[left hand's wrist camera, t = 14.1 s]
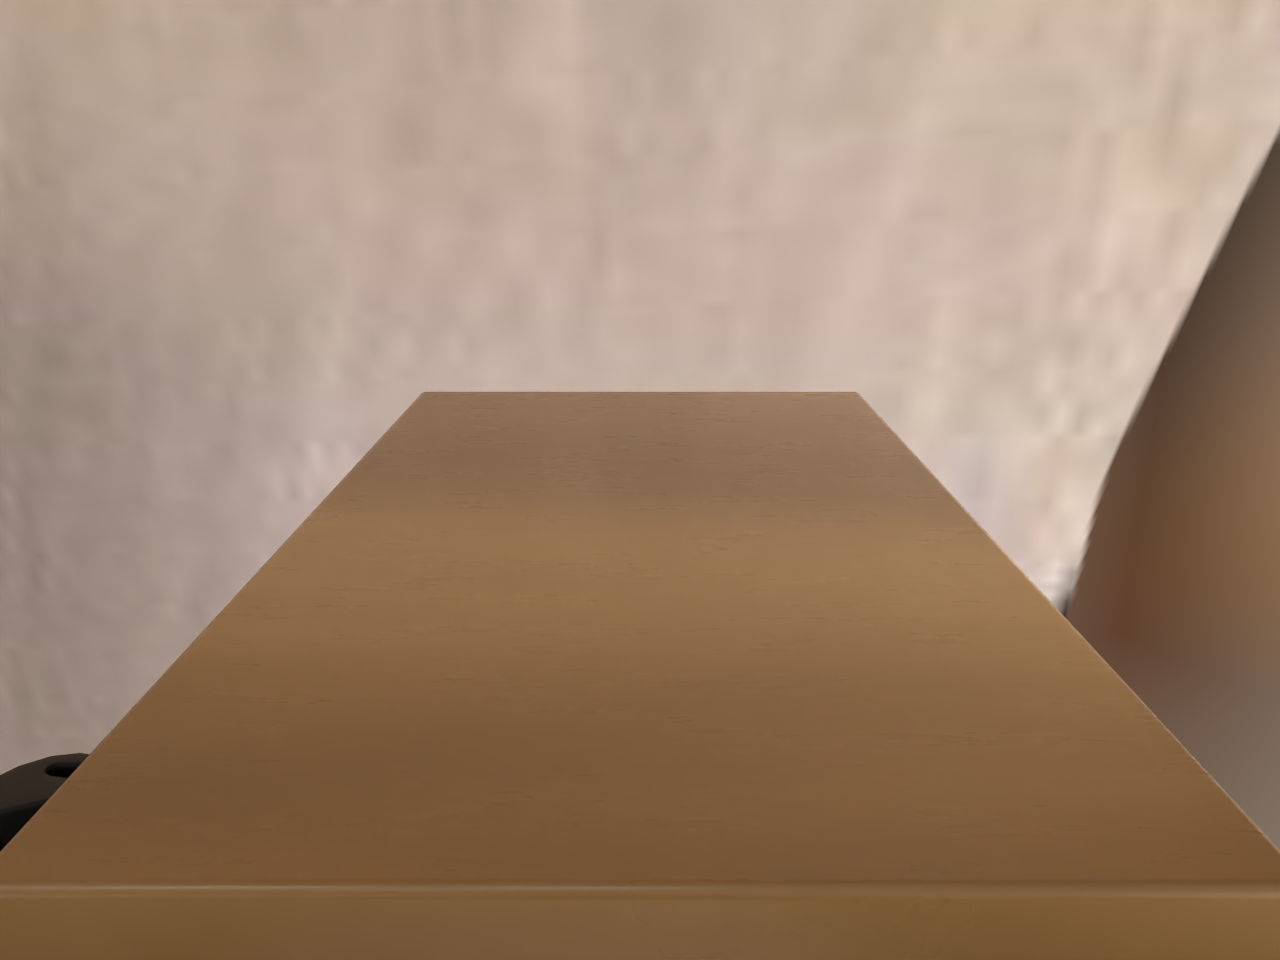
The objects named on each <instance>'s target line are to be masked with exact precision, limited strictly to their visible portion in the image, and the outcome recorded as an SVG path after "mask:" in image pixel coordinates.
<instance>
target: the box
mask: <svg viewBox="0 0 1280 960" xmlns="http://www.w3.org/2000/svg"><path fill="white" fill-rule="evenodd" d="M0 960H1280V850H1279V849H1278V848H1277V847H1276V846H1275V845H1274V844H1273V843H1272V842H1271V841H1270V839H1269V838H1268V837H1267V836H1266V835H1265V834H1264V833H1263V832H1262V831H1261V830H1260V829H1259V827H1258V826H1257V825H1256V824H1255V823H1254V822H1253V821H1252V820H1251V819H1250V818H1249V817H1248V816H1247V815H1246V813H1245V812H1244V811H1243V810H1242V809H1241V808H1240V807H1239V806H1238V805H1237V804H1236V803H1235V801H1234V800H1233V799H1232V798H1231V797H1230V796H1229V795H1228V794H1227V793H1226V792H1225V791H1224V790H1223V788H1222V787H1221V786H1220V785H1219V784H1218V783H1217V782H1216V781H1215V780H1214V779H1213V778H1212V777H1211V775H1210V774H1209V773H1208V772H1207V771H1206V770H1205V769H1204V768H1203V767H1202V766H1201V765H1200V763H1199V762H1198V761H1197V760H1196V759H1195V758H1194V757H1193V756H1192V755H1191V754H1190V753H1189V752H1188V750H1187V749H1186V748H1185V747H1184V746H1183V745H1182V744H1181V743H1180V742H1179V741H1178V740H1177V739H1176V737H1175V736H1174V735H1173V734H1172V733H1171V732H1170V731H1169V730H1168V729H1167V728H1166V727H1165V726H1164V724H1163V723H1162V722H1161V721H1160V720H1159V719H1158V718H1157V717H1156V716H1155V715H1154V714H1153V713H1152V711H1151V710H1150V709H1149V708H1148V707H1147V706H1146V705H1145V704H1144V703H1143V702H1142V701H1141V699H1140V698H1139V697H1138V696H1137V695H1136V694H1135V693H1134V692H1133V691H1132V690H1131V689H1130V688H1129V687H1128V685H1127V684H1126V683H1125V682H1124V681H1123V680H1122V679H1121V678H1120V677H1119V676H1118V675H1117V673H1116V672H1115V671H1114V670H1113V669H1112V668H1111V667H1110V666H1109V665H1108V664H1107V663H1106V662H1105V660H1104V659H1103V658H1102V657H1101V656H1100V655H1099V654H1098V653H1097V652H1096V651H1095V650H1094V648H1093V647H1092V646H1091V645H1090V644H1089V643H1088V642H1087V641H1086V640H1085V639H1084V638H1083V637H1082V635H1081V634H1080V633H1079V632H1078V631H1077V630H1076V629H1075V628H1074V627H1073V626H1072V625H1071V624H1070V622H1069V621H1068V620H1067V619H1066V618H1065V617H1064V616H1063V615H1062V614H1061V613H1060V612H1059V611H1058V609H1057V608H1056V607H1055V606H1054V605H1053V604H1052V603H1051V602H1050V601H1049V600H1048V599H1047V598H1046V596H1045V595H1044V594H1043V593H1042V592H1041V591H1040V590H1039V589H1038V588H1037V587H1036V586H1035V584H1034V583H1033V582H1032V581H1031V580H1030V579H1029V578H1028V577H1027V576H1026V575H1025V574H1024V573H1023V571H1022V570H1021V569H1020V568H1019V567H1018V566H1017V565H1016V564H1015V563H1014V562H1013V561H1012V560H1011V558H1010V557H1009V556H1008V555H1007V554H1006V553H1005V552H1004V551H1003V550H1002V549H1001V548H1000V547H999V545H998V544H997V543H996V542H995V541H994V540H993V539H992V538H991V537H990V536H989V535H988V534H987V532H986V531H985V530H984V529H983V528H982V527H981V526H980V525H979V524H978V523H977V522H976V520H975V519H974V518H973V517H972V516H971V515H970V514H969V513H968V512H967V511H966V510H965V509H964V507H963V506H962V505H961V504H960V503H959V502H958V501H957V500H956V499H955V498H954V497H953V496H952V494H951V493H950V492H949V491H948V490H947V489H946V488H945V487H944V486H943V485H942V484H941V483H940V481H939V480H938V479H937V478H936V477H935V476H934V475H933V474H932V473H931V472H930V471H929V469H928V468H927V467H926V466H925V465H924V464H923V463H922V462H921V461H920V460H919V459H918V458H917V456H916V455H915V454H914V453H913V452H912V451H911V450H910V449H909V448H908V447H907V446H906V445H905V443H904V442H903V441H902V440H901V439H900V438H899V437H898V436H897V435H896V434H895V433H894V432H893V430H892V429H891V428H890V427H889V426H888V425H887V424H886V423H885V422H884V421H883V420H882V419H881V417H880V416H879V415H878V414H877V413H876V412H875V411H874V410H873V409H872V408H871V407H870V405H869V404H868V403H867V402H866V401H865V400H864V399H863V398H862V397H861V396H860V395H859V394H858V393H856V392H424V393H422V394H421V395H420V396H419V397H418V398H417V399H416V400H415V401H414V403H413V404H412V405H411V406H410V407H409V408H408V409H407V410H406V411H405V412H404V413H403V414H402V416H401V417H400V418H399V419H398V420H397V421H396V422H395V423H394V424H393V425H392V426H391V428H390V429H389V430H388V431H387V432H386V433H385V434H384V435H383V436H382V437H381V438H380V439H379V441H378V442H377V443H376V444H375V445H374V446H373V447H372V448H371V449H370V450H369V451H368V453H367V454H366V455H365V456H364V457H363V458H362V459H361V460H360V461H359V462H358V463H357V464H356V466H355V467H354V468H353V469H352V470H351V471H350V472H349V473H348V474H347V475H346V476H345V478H344V479H343V480H342V481H341V482H340V483H339V484H338V485H337V486H336V487H335V488H334V489H333V491H332V492H331V493H330V494H329V495H328V496H327V497H326V498H325V499H324V500H323V501H322V503H321V504H320V505H319V506H318V507H317V508H316V509H315V510H314V511H313V512H312V513H311V514H310V516H309V517H308V518H307V519H306V520H305V521H304V522H303V523H302V524H301V525H300V526H299V528H298V529H297V530H296V531H295V532H294V533H293V534H292V535H291V536H290V537H289V538H288V540H287V541H286V542H285V543H284V544H283V545H282V546H281V547H280V548H279V549H278V550H277V551H276V553H275V554H274V555H273V556H272V557H271V558H270V559H269V560H268V561H267V562H266V563H265V565H264V566H263V567H262V568H261V569H260V570H259V571H258V572H257V573H256V574H255V575H254V576H253V578H252V579H251V580H250V581H249V582H248V583H247V584H246V585H245V586H244V587H243V588H242V590H241V591H240V592H239V593H238V594H237V595H236V596H235V597H234V598H233V599H232V600H231V601H230V603H229V604H228V605H227V606H226V607H225V608H224V609H223V610H222V611H221V612H220V613H219V615H218V616H217V617H216V618H215V619H214V620H213V621H212V622H211V623H210V624H209V625H208V626H207V628H206V629H205V630H204V631H203V632H202V633H201V634H200V635H199V636H198V637H197V638H196V640H195V641H194V642H193V643H192V644H191V645H190V646H189V647H188V648H187V649H186V650H185V651H184V653H183V654H182V655H181V656H180V657H179V658H178V659H177V660H176V661H175V662H174V663H173V665H172V666H171V667H170V668H169V669H168V670H167V671H166V672H165V673H164V674H163V675H162V676H161V678H160V679H159V680H158V681H157V682H156V683H155V684H154V685H153V686H152V687H151V688H150V690H149V691H148V692H147V693H146V694H145V695H144V696H143V697H142V698H141V699H140V700H139V701H138V703H137V704H136V705H135V706H134V707H133V708H132V709H131V710H130V711H129V712H128V713H127V715H126V716H125V717H124V718H123V719H122V720H121V721H120V722H119V723H118V724H117V725H116V727H115V728H114V729H113V730H112V731H111V732H110V733H109V734H108V735H107V736H106V737H105V738H104V740H103V741H102V742H101V743H100V744H99V745H98V746H97V747H96V748H95V749H94V750H93V752H92V753H91V754H90V755H89V756H88V757H87V758H86V759H85V760H84V761H83V762H82V763H81V765H80V766H79V767H78V768H77V769H76V770H75V771H74V772H73V773H72V774H71V775H70V777H69V778H68V779H67V780H66V781H65V782H64V783H63V784H62V785H61V786H60V787H59V788H58V790H57V791H56V792H55V793H54V794H53V795H52V796H51V797H50V798H49V799H48V800H47V802H46V803H45V804H44V805H43V806H42V807H41V808H40V809H39V810H38V811H37V812H36V813H35V815H34V816H33V817H32V818H31V819H30V820H29V821H28V822H27V823H26V824H25V825H24V827H23V828H22V829H21V830H20V831H19V832H18V833H17V834H16V835H15V836H14V837H13V838H12V840H11V841H10V842H9V843H8V844H7V845H6V846H5V847H4V848H3V849H2V850H1V852H0Z"/></svg>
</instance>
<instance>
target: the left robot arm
mask: <svg viewBox="0 0 1280 960" xmlns="http://www.w3.org/2000/svg"><path fill="white" fill-rule="evenodd" d="M88 756H89V754H83V753H77V754H67V755H58V756H51V757H47V758H44V759H41V760H37V761H34V762H31V763H28V764H24V765H21V766H18V767H16V768H14V769H12V770H10V771H8V772H6V773H4V774H2V775H0V852H1V850H2V849H3V848H4V847H5V846H6V845H7V844H8V843H9V842H10V841H11V840H12V838H13V837H14V836H15V835H16V834H17V833H18V832H19V831H20V830H21V829H22V828H23V827H24V825H25V824H26V823H27V822H28V821H29V820H30V819H31V818H32V817H33V816H34V815H35V813H36V812H37V811H38V810H39V809H40V808H41V807H42V806H43V805H44V804H45V803H46V802H47V800H48V799H49V798H50V797H51V796H52V795H53V794H54V793H55V792H56V791H57V790H58V788H59V787H60V786H61V785H62V784H63V783H64V782H65V781H66V780H67V779H68V778H69V777H70V775H71V774H72V773H73V772H74V771H75V770H76V769H77V768H78V767H79V766H80V765H81V763H82V762H83V761H84V760H85V759H86V758H87V757H88Z"/></svg>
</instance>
